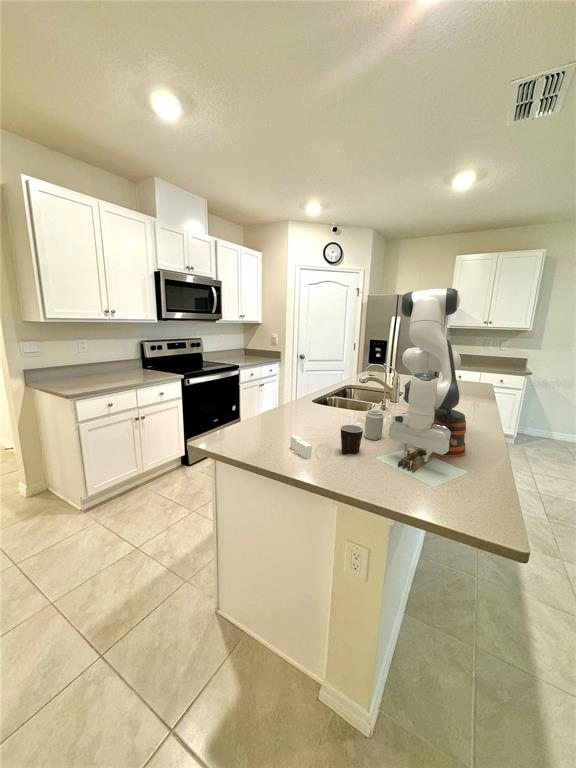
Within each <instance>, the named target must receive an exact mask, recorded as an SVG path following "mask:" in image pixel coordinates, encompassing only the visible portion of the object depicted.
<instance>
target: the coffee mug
mask: <svg viewBox="0 0 576 768" xmlns="http://www.w3.org/2000/svg"><path fill="white" fill-rule="evenodd" d="M339 429H340V444H341V445H340V446H341V453H342V454H343V455H344V456H347V455H357V454H359V453H360V448H361V443H362V438H363V434H364V428H363V427H361V426H360V425H354V424H343V425H341V426H340V428H339Z"/></svg>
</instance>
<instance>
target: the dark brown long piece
mask: <svg viewBox="0 0 576 768" xmlns="http://www.w3.org/2000/svg"><path fill="white" fill-rule="evenodd" d="M415 450H416V451H414V452H412V453H411V454H409V455H407V456H406V457H404V458H402V459H401V460H400V461H399V462H398V468H399V467H400V466H403V467H402V469H404V468H407V471H409V470H410V461H412V466H411V470H412V473H414V472H415V471H416V470H417V469H419V468H420V467H422V466H423V465H425V464H426V463H427V462H429V461H430V460H432V457H433V454H434V453H431V455H430V456H429V457H428V461H427V462H424V461H422V456H423V455H426V454H427V453H426V450H425V449H422V448H417V449H415Z"/></svg>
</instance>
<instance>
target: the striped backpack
mask: <svg viewBox="0 0 576 768" xmlns="http://www.w3.org/2000/svg"><path fill="white" fill-rule="evenodd" d="M434 411H435V415H434V423H433V424H437V425H440V426H445V427H447V428H448V429H449V430H450V432H451V435H450V439H449V451H448V452H447V453H445V454H443V455H441V454H438V453H435V452H432V453H433V454H434V455H437V456H439V457H443V458H445V457H446V458H450V459H451V458H452V459H455V458H458V459H459V458H463V457H464V456H466V443H465V437H466V436H465V435H466V433H467V420H466V415H465V414H464V413H463V412H461V411H458V410H456V409H454V408H452V409H450V410H443V409H435V410H434ZM446 430H447V429H446Z"/></svg>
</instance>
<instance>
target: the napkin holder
mask: <svg viewBox="0 0 576 768" xmlns="http://www.w3.org/2000/svg"><path fill="white" fill-rule="evenodd" d="M291 448H292V450H293V449H294V450H293V451H294V454H296V455H298V454H299V455H298V456H300V455H301V456H300V457H302V458H303V457H304V458H303V459H305V458H306V459H305V460H308V459H311V458H312V449H313V448H312V444H310V443H309V442H306V441H305V440H303V438H302V437H300V436H298V435H296V434H295V435H292V436H290V449H291Z"/></svg>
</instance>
